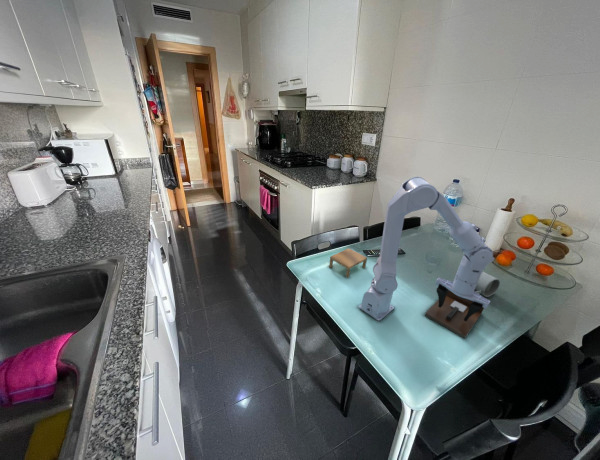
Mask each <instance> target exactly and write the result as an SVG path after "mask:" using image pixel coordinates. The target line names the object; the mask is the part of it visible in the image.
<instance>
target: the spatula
mask: <svg viewBox="0 0 600 460" xmlns="http://www.w3.org/2000/svg"><path fill="white" fill-rule="evenodd" d="M450 307H452V308H453V309H452V311H451V312H450V313H449V314H448V315H447V317H446V319H448V320H449V321H450V320H451V319H452V318H453V316H454V315H455V314H456V313H457V312H458V311H459V312H461V313H463V312H464V311H465V310H466V308H467V307H466V306H464V305H462V304H460V303H458V302H456V301H454V302H453V303H452V304H451V305H450Z"/></svg>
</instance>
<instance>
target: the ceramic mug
mask: <svg viewBox="0 0 600 460" xmlns="http://www.w3.org/2000/svg"><path fill="white" fill-rule="evenodd" d="M500 284H501V281H500V279H499V278H497V277H495V276H494V275H490V274H489V273H488V272H487V273H486V272H485V271H484V270H483V271H482V274H481V276H480V278H479V281H478V283H477V285H476V288H475V290H474V291H475V292H476V293H478V294H479V295H481V296H482V297H484V298H489V297H491V296H493V295H494V294H495V293H496V292H497V291H498V290H499V287H500Z"/></svg>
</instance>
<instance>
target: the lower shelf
mask: <svg viewBox="0 0 600 460" xmlns="http://www.w3.org/2000/svg"><path fill="white" fill-rule="evenodd" d="M454 301H456V302H458V303H460V304H462V305H464V306H466V307H467V308H466V310H465V311H464V312H463V313H461V312H459V311H458V312H457V313H456V314H455V315H454V316H453V318H452V319H451V320H450V321H449V320H448V319H446V317H447V315H448V314H449V313H450V312H451V311H452V309H453V308H452V307H450V305H451V304H452V303H453V302H454ZM472 303H473V301H471V300H469V299H466V298H463V297H460V296H457V295H456V294H454V293H453V292H451V291H450V290H449V291H448V293H447V295H446V298H445V301H444V304H443V306H442V307H441V308H440V307H438V306H439V299H437V300H436V302H434V304H433V305H431V306H430V308H428V310H426V312H425V313H424V316H425V317H426V318H428V319H430V320H431V321H433V322H435V323H437V324H438V325H440V326H442V327H443V328H446V329H447V330H449V331H451V332H452V333H454V334H455V335H457V336H459V337H461V338H463V339H464V340H465V339H466V337H467V336H468V335H469V333H470V331H471V330H472V329H473V328H474V325H476V323H477V321H478V320H479V318H480V317H481V315H482V313H483V312H484V309H485V308H483V307H482V308H481V309H480V310H479V311H478V312H476V313H474V314H473V315H471V316H470V317H469V318H468V320H467V321H464V318H465V317H466V315H467V313H468V310H469V307H470V305H471V304H472Z"/></svg>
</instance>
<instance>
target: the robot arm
mask: <svg viewBox="0 0 600 460" xmlns="http://www.w3.org/2000/svg"><path fill="white" fill-rule="evenodd" d="M424 209H429V210H431V211H436V212H437V213H438V214H439V215H440V216H441V218H442V219H443V220H444V221H445V222H446V223H447V225H448V226H449V232H448V233H449V236H450V237H451V238H452V239H453V241H454V242H455V243H456V245H457V246H458V247H459V248H460V250H461V252H462V253H463V255H462V258H461V260H460V263H459V265H458V268H457V271H456V274H455V275H454V276H455V277H454V279H453V281H452V280H447V279H444V278H441V277H438V278H437V279H436V280H435V284H434V285H435V286H437V288H436V293H437V298H438V300H439V306H438V307H440V308H441V307H442V306H443V304H444V301H445V298H446V295H447V293H448V291H449V290H450V291H451V292H453V293H454V294H456V295H457V296H460V297H463V298H466V299H469V300H471V301H473V303H472V304H471V305H470V307H469V310H468V313H467V315H466V317H465V318H464V321H467V320H468V318H469V317H470V316H471V315H473V314H474V313H476V312H478V311H479V310H480V309H481V308H482V307H483V308H484V309H485V310H487V309H488V307H489V305H490V303H491V300H489V299H487V298H486V297H485V296H483V295H482V294H478V293H476V290H475V288H476V285H477V283H478V281H479V278H480V276H481V274H482V271H483V272H484V271H485V269H486V267H487V266H488V265H490V264H491V263H492V262H493V261H494V260H495V257H494V251H493V249H492V248H491V247H489V246H488V245H487V244H486V243H485V242H487V241H486V239H485V237H483V236H481V235H480V234H479V233H478V231H477V230H478V227H477V225H475V224H474V223H471V222H469V221H464V220H462V219H461V218H460V215H458V214H457V212H456V210H455V209H454V207H453V206H452V204H451V202H449V200H448V199H447V198H446V197H445V196H444V195H443V194H442V193H441V192H440V191H438V189H437V188H436V187H435V186H434V185H432V184H431V183H429V182H427V180H426V179H425V178H424V177H422V176H412V177H411V178H409V179H407V180H405V181H404V182H402V183H401V184H400V186H399V189H398V190H397V191H396V192H395V194H394V195H393V196H392V197H391V199H390V200H389V201H388V203H387V205H386V211H385V217H384V224H383V231H382V236H381V243H380V244H381V245H380V250H379V257H377V260H376V263H375V264H374V265H373V267H372V272H373V275H374V277H373V278H372V280H371V282H370V286H369V288H368V289H367V290H366V291H365V292H364V293H363V296H362V301H361V304H360V305H358V308H359V310H361V311H363V312H364V313H366V314H367V315H369V316H370V317H372V318H373V319H375V320H376V321H378V322H379V321H381V320H382V319H384V318H385V317H386V316H387V315H389V313H391V312H392V311H393V310H394V309H395V306H393V305H392V304H391V303H392V300H393V295H394V292H395V291H397V288H398V285H399V284H398V283H399V282H398V281H397V260H398V255H399V250H400V243H401V238H402V232H403V227H404V222H405V216H407V215H408V214H411V213H412V212H417V211H420V210H424Z"/></svg>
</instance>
